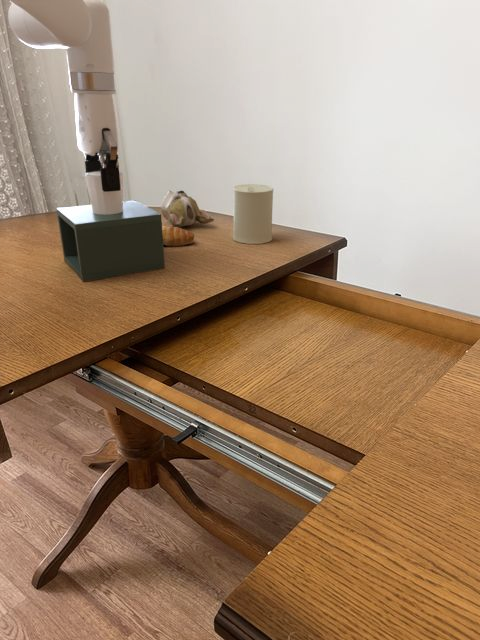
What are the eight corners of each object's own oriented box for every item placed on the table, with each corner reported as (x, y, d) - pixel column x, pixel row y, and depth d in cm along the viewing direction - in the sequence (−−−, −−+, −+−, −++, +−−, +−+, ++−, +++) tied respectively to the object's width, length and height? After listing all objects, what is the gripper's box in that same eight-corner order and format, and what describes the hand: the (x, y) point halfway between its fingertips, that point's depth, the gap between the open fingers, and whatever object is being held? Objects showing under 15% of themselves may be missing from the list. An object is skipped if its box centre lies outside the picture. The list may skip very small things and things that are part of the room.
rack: (83, 281, 99) (75, 224, 95) (64, 260, 110) (56, 208, 105) (164, 268, 107) (161, 214, 102) (139, 249, 118) (135, 200, 113)
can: (228, 242, 123) (228, 188, 118) (237, 232, 132) (237, 181, 126) (268, 245, 122) (270, 190, 117) (275, 234, 130) (276, 183, 125)
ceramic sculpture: (187, 182, 141) (216, 196, 130) (188, 215, 145) (216, 231, 135) (149, 186, 135) (176, 201, 125) (151, 220, 140) (177, 237, 129)
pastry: (196, 239, 126) (195, 222, 124) (192, 247, 120) (192, 230, 118) (155, 238, 126) (154, 222, 124) (150, 247, 120) (148, 230, 118)
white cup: (132, 208, 106) (129, 171, 103) (114, 216, 100) (110, 177, 97) (101, 206, 107) (96, 169, 104) (81, 213, 102) (76, 174, 98)
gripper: (58, 82, 98) (71, 180, 106) (85, 85, 85) (96, 196, 93) (99, 83, 102) (108, 178, 110) (131, 86, 89) (139, 193, 97)
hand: (103, 186), depth 101 cm, fingers open, 9 cm apart
